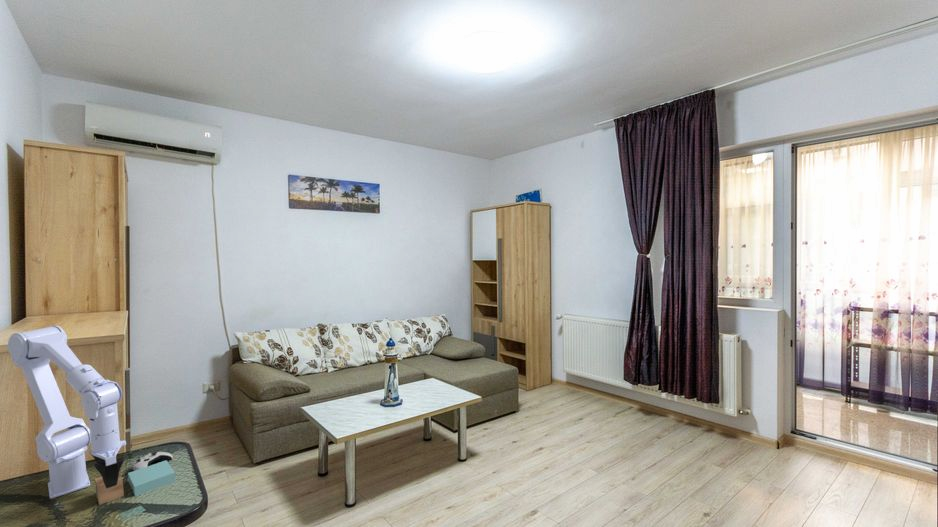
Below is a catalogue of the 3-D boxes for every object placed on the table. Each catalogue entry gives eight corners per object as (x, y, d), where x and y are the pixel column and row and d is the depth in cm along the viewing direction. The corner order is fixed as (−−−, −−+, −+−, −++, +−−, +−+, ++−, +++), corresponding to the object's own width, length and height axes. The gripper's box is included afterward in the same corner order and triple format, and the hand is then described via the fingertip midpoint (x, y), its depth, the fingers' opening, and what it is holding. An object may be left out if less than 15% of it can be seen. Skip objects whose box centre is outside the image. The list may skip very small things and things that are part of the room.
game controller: (145, 475, 123) (132, 458, 123) (135, 485, 124) (123, 469, 124) (175, 456, 132) (163, 441, 132) (166, 467, 133) (154, 452, 134)
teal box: (128, 483, 120) (127, 473, 120) (167, 469, 127) (166, 460, 127) (135, 497, 114) (134, 486, 114) (175, 482, 121) (174, 472, 121)
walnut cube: (96, 496, 114) (94, 478, 114) (120, 488, 118) (119, 470, 117) (99, 505, 111) (97, 486, 110) (123, 496, 114) (122, 478, 114)
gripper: (129, 434, 110) (133, 484, 112) (119, 416, 120) (123, 463, 122) (93, 444, 105) (97, 497, 107) (85, 425, 115) (90, 473, 116)
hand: (109, 480), depth 114 cm, fingers open, 7 cm apart
